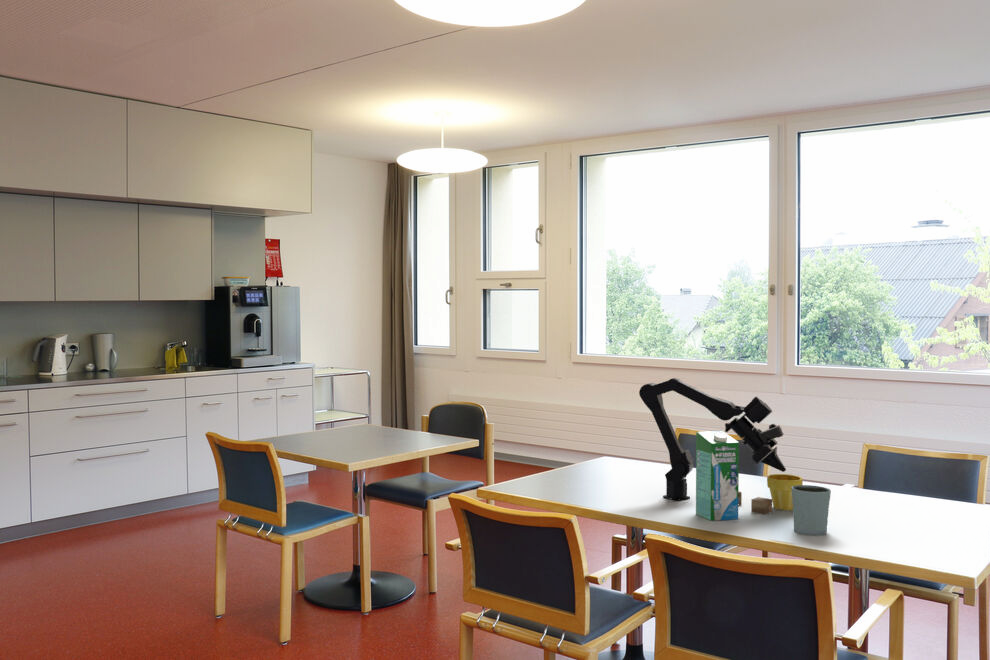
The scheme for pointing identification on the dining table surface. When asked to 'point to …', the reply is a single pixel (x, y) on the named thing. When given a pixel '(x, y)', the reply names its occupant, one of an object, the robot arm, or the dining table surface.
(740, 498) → the marked block
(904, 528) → the dining table surface
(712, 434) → the milk carton
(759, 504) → the marked block
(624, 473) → the dining table surface
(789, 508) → the plant pot
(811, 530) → the grey cup
